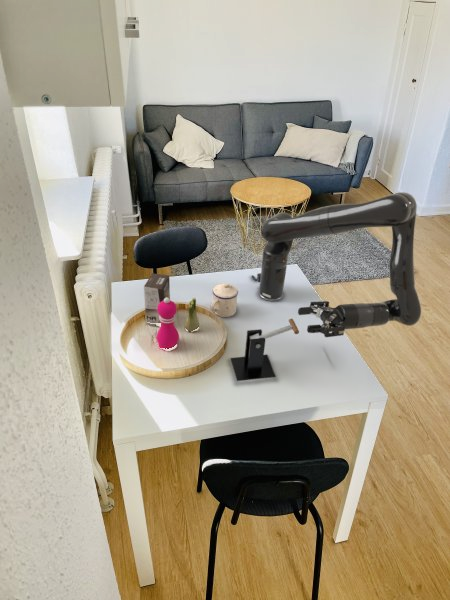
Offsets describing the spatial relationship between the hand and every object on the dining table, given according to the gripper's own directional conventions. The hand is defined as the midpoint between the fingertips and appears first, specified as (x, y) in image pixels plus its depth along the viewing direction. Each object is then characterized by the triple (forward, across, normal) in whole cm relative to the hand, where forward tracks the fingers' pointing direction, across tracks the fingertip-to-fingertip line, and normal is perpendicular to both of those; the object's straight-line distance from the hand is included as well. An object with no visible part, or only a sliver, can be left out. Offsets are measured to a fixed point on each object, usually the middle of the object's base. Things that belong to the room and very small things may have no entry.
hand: (303, 320), depth 134 cm
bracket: (+14, 0, +18) cm, 23 cm away
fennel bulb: (+30, -22, +19) cm, 42 cm away
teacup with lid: (+18, -31, +19) cm, 40 cm away
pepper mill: (+39, -14, +19) cm, 45 cm away
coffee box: (+41, -30, +19) cm, 54 cm away
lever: (+8, 0, +5) cm, 10 cm away
